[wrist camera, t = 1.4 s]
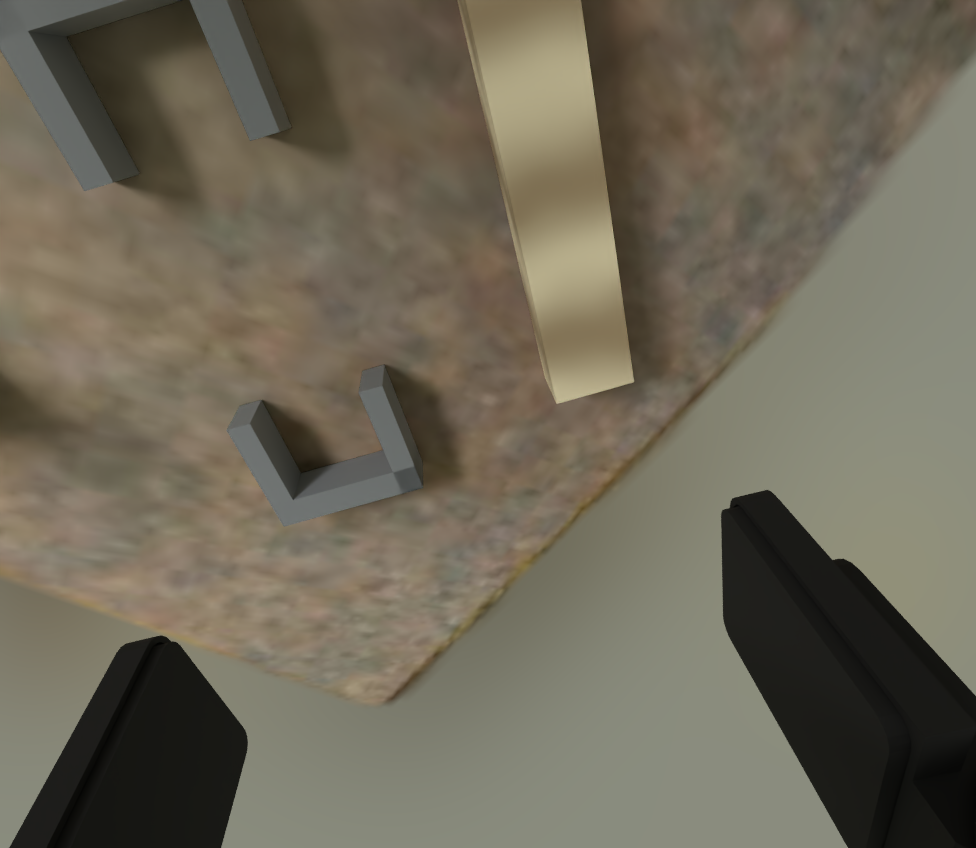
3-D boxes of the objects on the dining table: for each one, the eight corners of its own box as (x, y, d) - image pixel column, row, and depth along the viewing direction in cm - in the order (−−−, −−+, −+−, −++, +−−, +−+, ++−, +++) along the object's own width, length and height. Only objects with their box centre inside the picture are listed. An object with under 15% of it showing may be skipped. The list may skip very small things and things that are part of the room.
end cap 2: (239, 405, 30) (226, 430, 28) (384, 364, 30) (382, 385, 28) (292, 498, 34) (283, 526, 31) (422, 462, 33) (423, 487, 31)
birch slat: (435, -89, 21) (439, -117, 18) (539, -121, 21) (559, -155, 18) (543, 373, 32) (556, 403, 29) (613, 354, 32) (634, 382, 29)
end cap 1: (291, 128, 24) (279, 131, 22) (113, 182, 24) (84, 191, 22) (215, -67, 21) (192, -85, 19) (9, -2, 21) (-37, -12, 19)
